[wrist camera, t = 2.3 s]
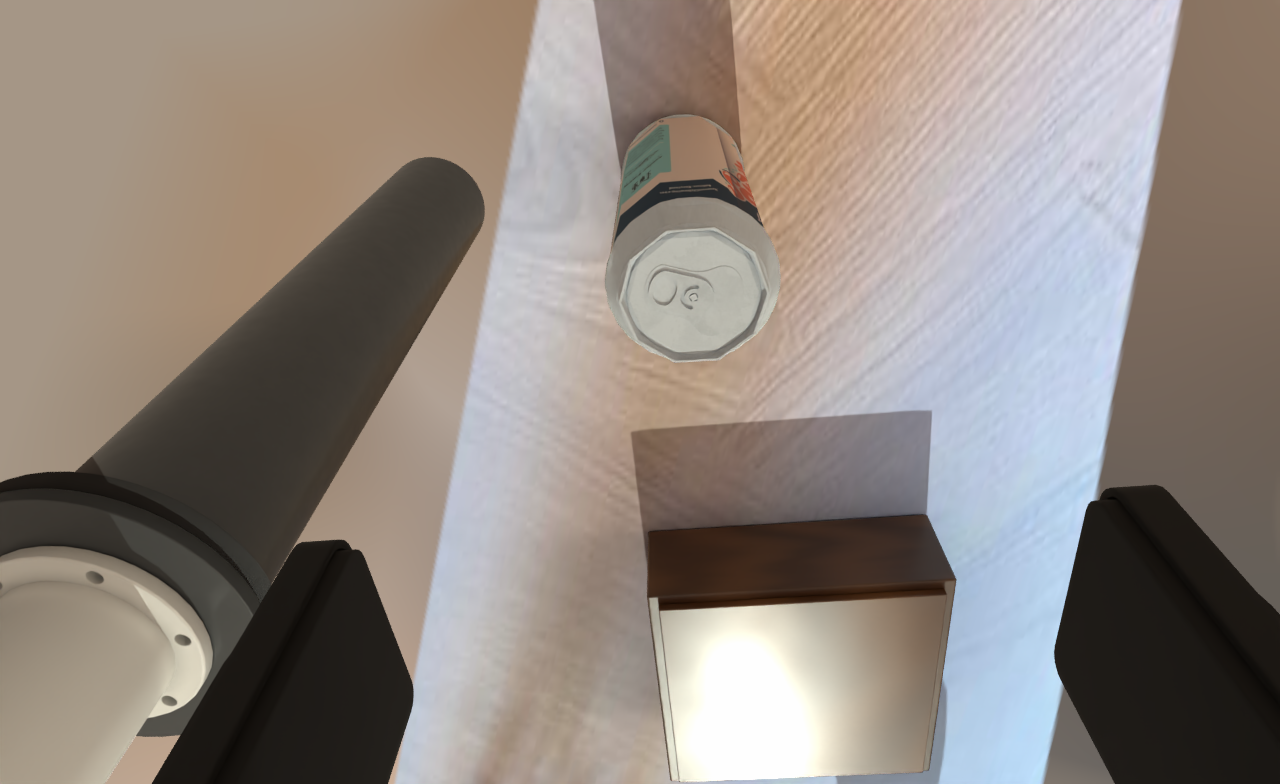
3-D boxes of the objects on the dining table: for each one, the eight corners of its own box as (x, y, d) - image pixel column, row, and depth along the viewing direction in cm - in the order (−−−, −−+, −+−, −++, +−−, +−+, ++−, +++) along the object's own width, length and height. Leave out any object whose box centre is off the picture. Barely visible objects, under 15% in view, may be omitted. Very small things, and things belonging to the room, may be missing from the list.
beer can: (722, 245, 32) (753, 393, 22) (609, 217, 32) (586, 357, 22) (759, 128, 30) (811, 234, 20) (637, 97, 30) (626, 188, 19)
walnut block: (669, 710, 47) (670, 788, 43) (648, 531, 40) (646, 603, 36) (906, 699, 46) (931, 778, 42) (927, 513, 39) (960, 586, 35)
